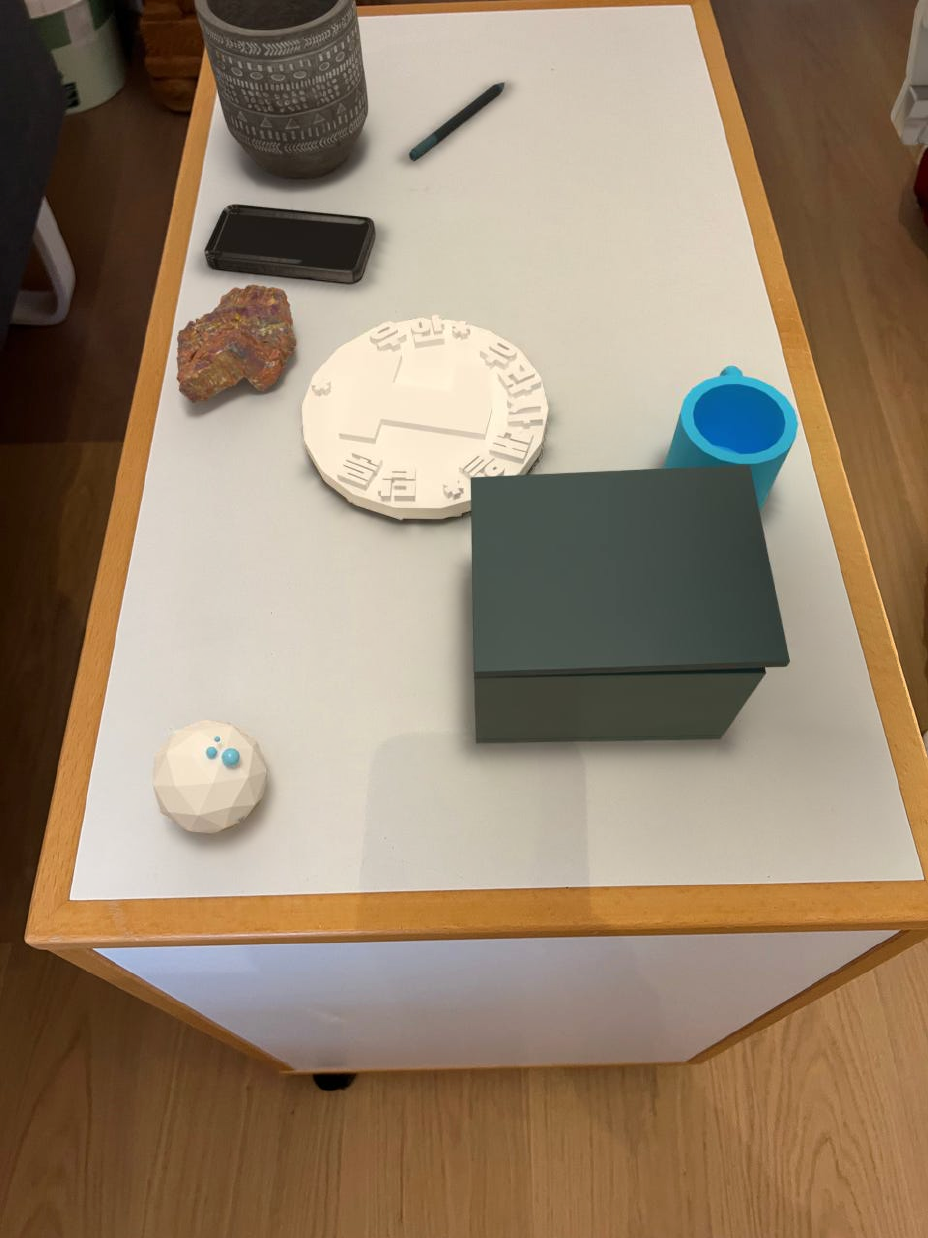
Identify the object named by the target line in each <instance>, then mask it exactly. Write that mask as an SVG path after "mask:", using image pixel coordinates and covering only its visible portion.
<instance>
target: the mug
mask: <svg viewBox="0 0 928 1238" xmlns="http://www.w3.org/2000/svg"><path fill="white" fill-rule="evenodd" d="M798 427H799V422H798V418H797V413H796V410H795V408H794V407H793V405H792V404H791V402H790V401H789V399H788V398H787V397H786V396H785V395H784V394H783V393H782V392H780V391H779V390H778V389H777V388H776V387H775V386H774V385H771V384H769V383H767V382H765V381H763V380H760V379H758V378H755V377H750V376H745V375H743V371H742V370H741V369H740V368H738V366H735V365H727V366H725V367H724V368H723V369H722V370H721V371H720V373H719V375H718V376H714V377H712V378H707V379H705V380H703V381H702V382H700V383H698V384H697V385H695V386H693V387H692V388H691V390H690V391H689V392H688V394H686V395H685V397H684V399H683V401H682V405H681V407H680V412H679V415H678V418H677V422H676V426H675V429H674V432H673V435H672V439H671V443H670V446H669V449H668V453H667V455H666V459H665V463H664V466H663V469H665V468H687V467H709V466H731V465H750V467H751V472H752V477H753V482H754V487H755V492H756V497H757V502H758V507H759V511H760V512H761V509H762V508H763V507H764V505H765V502H766V500H767V499H768V496H769V494H770V492H771V490H772V488H773V486H774V483H775V481H776V479H777V478H778V475H779V473H780V471H781V469H782V467H783V465H784V464H785V461H786V459H787V458H788V455H789V453H790V451H791V449H792V446H793V445H794V442H795V440H796V439H797V433H798Z"/></svg>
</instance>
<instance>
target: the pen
mask: <svg viewBox="0 0 928 1238" xmlns="http://www.w3.org/2000/svg"><path fill="white" fill-rule="evenodd" d="M505 84H506V83H505V82H499V83H495V84H493V85H492V86H490V87H489V88H487V90H485V91H484V92H482V94H480V95H479V96H478V97H476V98H475V99H474V100H473V101H471V102H470V103H469V104H467V105H466V106H465V107H464V108H462V109H460V111H459V112H457V113H456V114H455V115H453V117H451V118H449V120H447V121H446V122H444V123H443V124H442V125H441V126H440V127H438V128H437V129H436V130H434V132H432V133H431V134H429V136H427V137H426V138H424V139H423V140H422V141H421V142H419V143H418V144H417V145H416V146H414V147H413V148H412V149H411V150H410V152H408V156H409V159H410V160H412V161H415V160H418V159H419V158H420V157H422V156H423V155H424V154H425V153H428V151H429V150H430V149H432V148H433V147H435V146H436V145H437V144H438V143H439V142H440V141H442V140H443V139H444V138H446V137H447V136H448V135H449V134H451V133H452V132H453V131H455V130H456V129H457V128H458V127H460V126H461V125H462V124H463V123H464V122H466V121H467V120H468V119H470V118H471V117H472V116H473V115H474V114H476V113H477V112H478V111H480V110H481V109H482V108H484V107H485V106H486V105H487V104H488V103H490V102H491V101H492V100H493V99H494V98H496V97H497V96H498V95H499V94H500V93H501V91H502V90H503V88H504V86H505Z"/></svg>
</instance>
